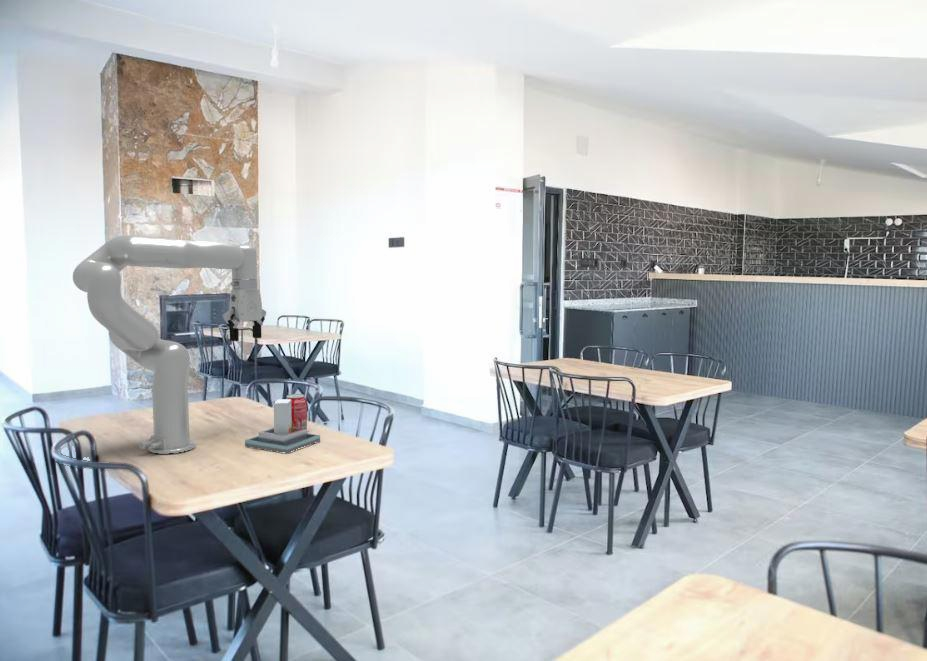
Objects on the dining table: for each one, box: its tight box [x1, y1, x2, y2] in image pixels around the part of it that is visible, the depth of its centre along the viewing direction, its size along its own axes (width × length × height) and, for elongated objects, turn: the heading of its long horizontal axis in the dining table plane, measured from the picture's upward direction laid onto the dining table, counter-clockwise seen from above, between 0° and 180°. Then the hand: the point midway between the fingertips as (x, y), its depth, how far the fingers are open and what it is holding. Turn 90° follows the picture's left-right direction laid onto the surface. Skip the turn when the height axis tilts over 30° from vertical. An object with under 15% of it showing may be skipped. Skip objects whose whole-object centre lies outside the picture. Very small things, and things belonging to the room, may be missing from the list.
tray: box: [244, 427, 321, 454], centre depth 202 cm, size 15×16×4 cm
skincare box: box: [273, 398, 292, 435], centre depth 202 cm, size 6×4×12 cm
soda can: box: [285, 393, 308, 430], centre depth 216 cm, size 7×7×12 cm
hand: (245, 339), depth 212 cm, fingers open, 9 cm apart
